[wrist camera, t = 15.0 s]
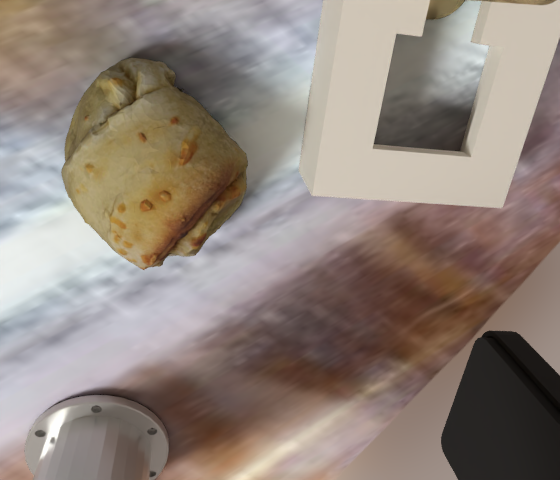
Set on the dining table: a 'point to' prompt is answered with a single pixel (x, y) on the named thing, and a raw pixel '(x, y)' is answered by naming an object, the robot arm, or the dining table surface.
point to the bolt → (446, 3)
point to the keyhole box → (370, 90)
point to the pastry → (150, 164)
